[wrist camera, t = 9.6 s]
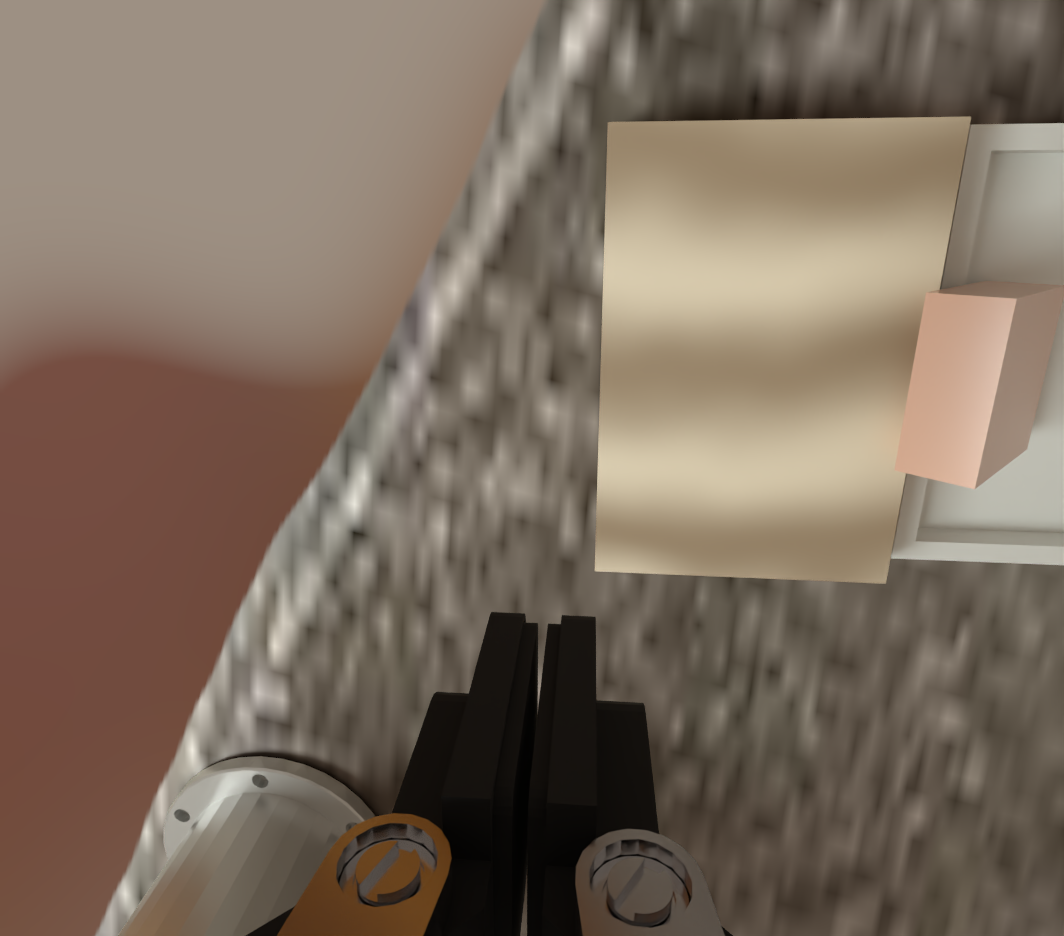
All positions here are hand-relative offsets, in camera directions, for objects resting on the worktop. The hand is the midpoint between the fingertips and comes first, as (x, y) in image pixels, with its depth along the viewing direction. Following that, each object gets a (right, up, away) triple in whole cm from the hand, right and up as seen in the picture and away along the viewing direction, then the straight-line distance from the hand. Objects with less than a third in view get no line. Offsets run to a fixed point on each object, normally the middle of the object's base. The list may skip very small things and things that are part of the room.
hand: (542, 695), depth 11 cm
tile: (+14, +7, +14) cm, 21 cm away
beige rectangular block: (+8, +8, +17) cm, 21 cm away
